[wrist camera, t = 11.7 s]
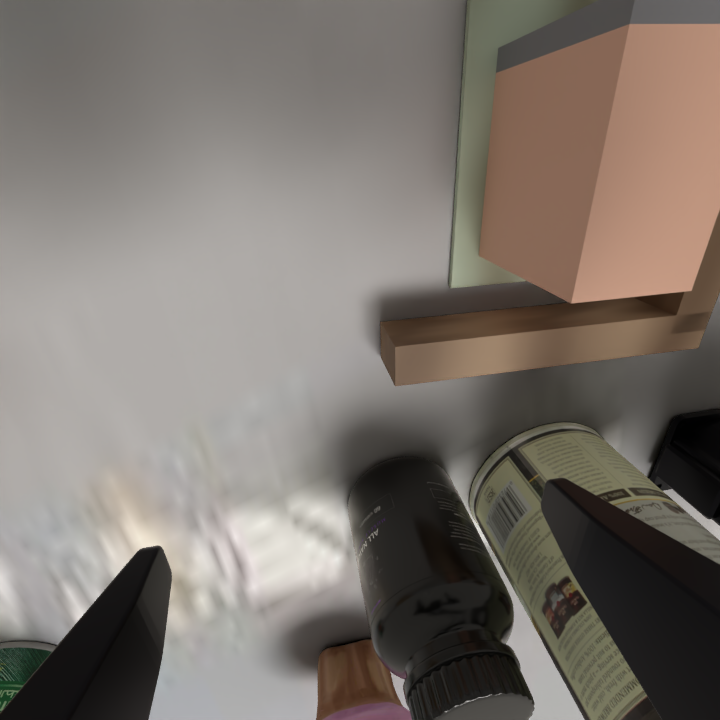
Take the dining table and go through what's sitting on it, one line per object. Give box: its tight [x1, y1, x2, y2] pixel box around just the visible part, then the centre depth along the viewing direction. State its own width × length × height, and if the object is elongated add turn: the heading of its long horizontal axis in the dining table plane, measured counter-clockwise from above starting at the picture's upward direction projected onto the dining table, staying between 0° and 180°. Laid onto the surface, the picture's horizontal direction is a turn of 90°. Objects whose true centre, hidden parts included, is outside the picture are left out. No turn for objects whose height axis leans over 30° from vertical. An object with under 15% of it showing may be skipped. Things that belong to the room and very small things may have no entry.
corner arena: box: [380, 0, 720, 386], centre depth 17 cm, size 16×17×3 cm
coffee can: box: [469, 422, 720, 720], centre depth 22 cm, size 10×10×14 cm
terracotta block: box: [479, 0, 720, 304], centre depth 15 cm, size 8×4×7 cm, turn 2°
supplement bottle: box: [348, 457, 534, 720], centre depth 21 cm, size 7×7×12 cm
